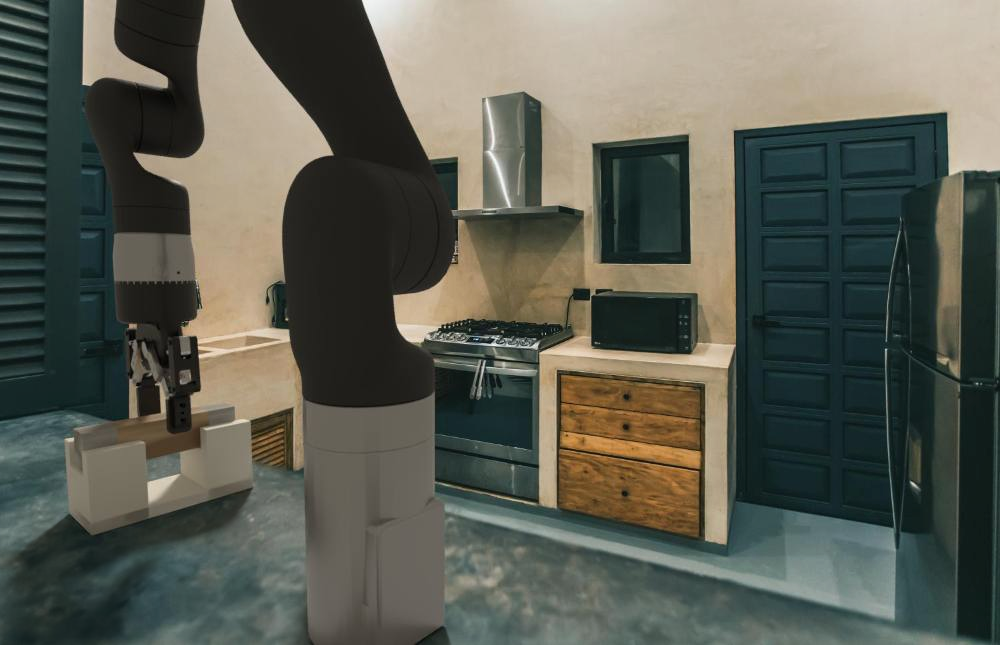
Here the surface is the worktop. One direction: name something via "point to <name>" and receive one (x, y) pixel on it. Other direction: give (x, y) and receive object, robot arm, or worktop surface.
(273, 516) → the worktop surface
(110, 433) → the rail
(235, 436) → the white notched block
